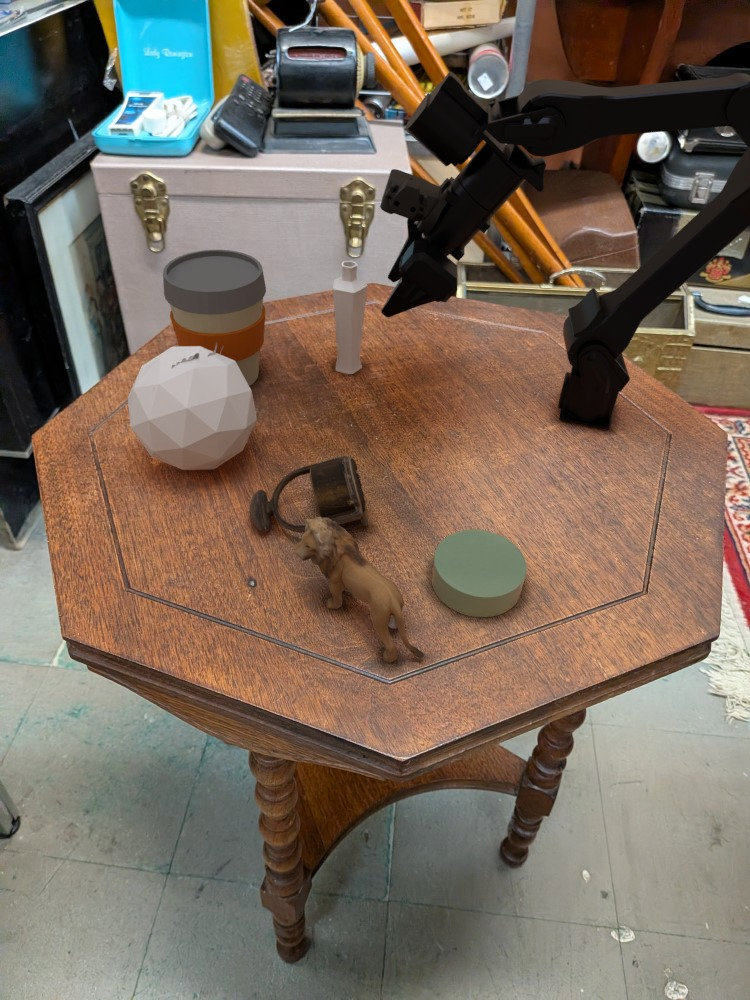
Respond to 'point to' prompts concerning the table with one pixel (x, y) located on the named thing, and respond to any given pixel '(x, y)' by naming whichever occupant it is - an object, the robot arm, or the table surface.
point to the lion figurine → (355, 579)
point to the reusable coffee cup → (218, 304)
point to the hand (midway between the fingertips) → (387, 296)
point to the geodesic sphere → (192, 408)
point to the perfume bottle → (349, 317)
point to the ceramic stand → (478, 573)
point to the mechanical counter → (318, 495)
